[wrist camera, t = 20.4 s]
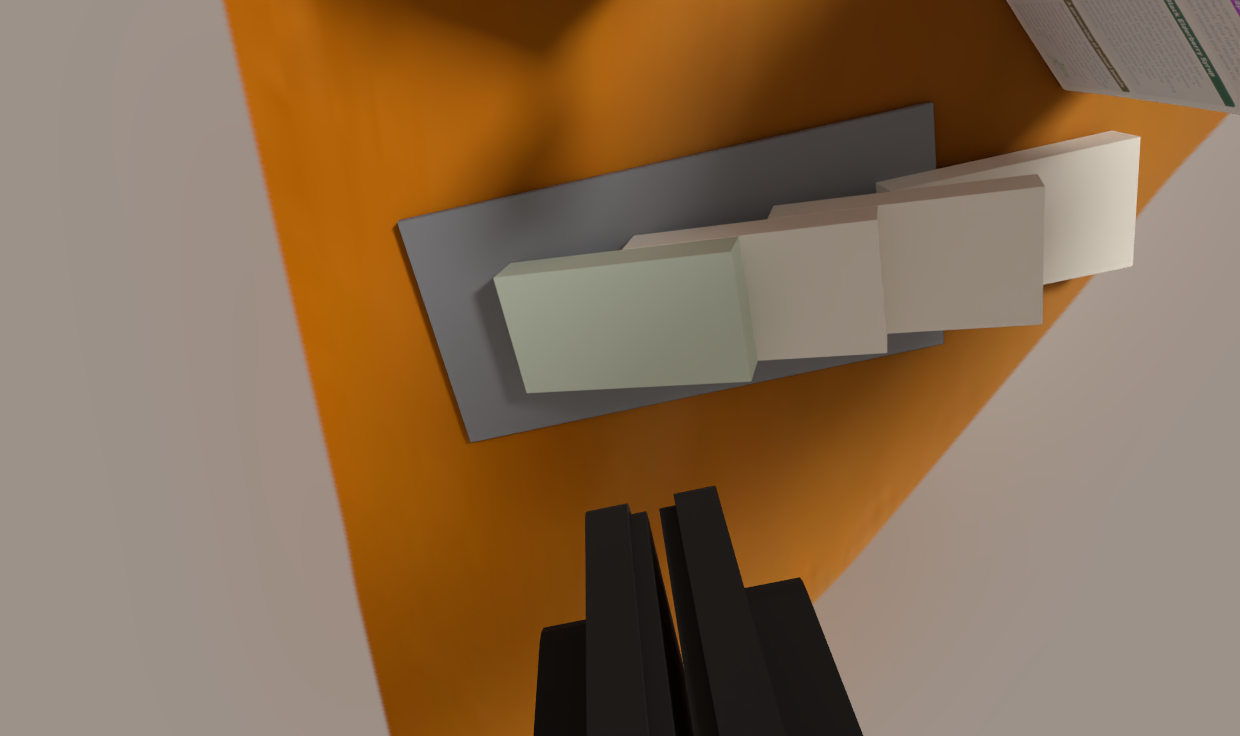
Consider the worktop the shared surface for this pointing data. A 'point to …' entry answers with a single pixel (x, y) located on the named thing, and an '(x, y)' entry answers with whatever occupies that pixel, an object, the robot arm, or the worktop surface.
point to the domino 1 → (631, 317)
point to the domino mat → (606, 221)
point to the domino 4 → (1066, 198)
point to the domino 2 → (806, 281)
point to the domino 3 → (955, 252)
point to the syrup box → (1141, 48)
